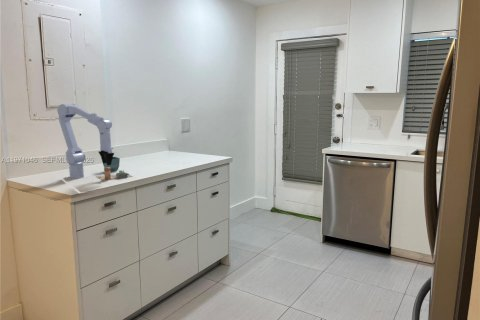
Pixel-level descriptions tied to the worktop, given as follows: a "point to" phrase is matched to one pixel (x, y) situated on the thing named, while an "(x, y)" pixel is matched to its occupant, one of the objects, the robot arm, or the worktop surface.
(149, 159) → the worktop surface
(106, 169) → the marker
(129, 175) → the clipboard
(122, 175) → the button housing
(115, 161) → the flower pot
